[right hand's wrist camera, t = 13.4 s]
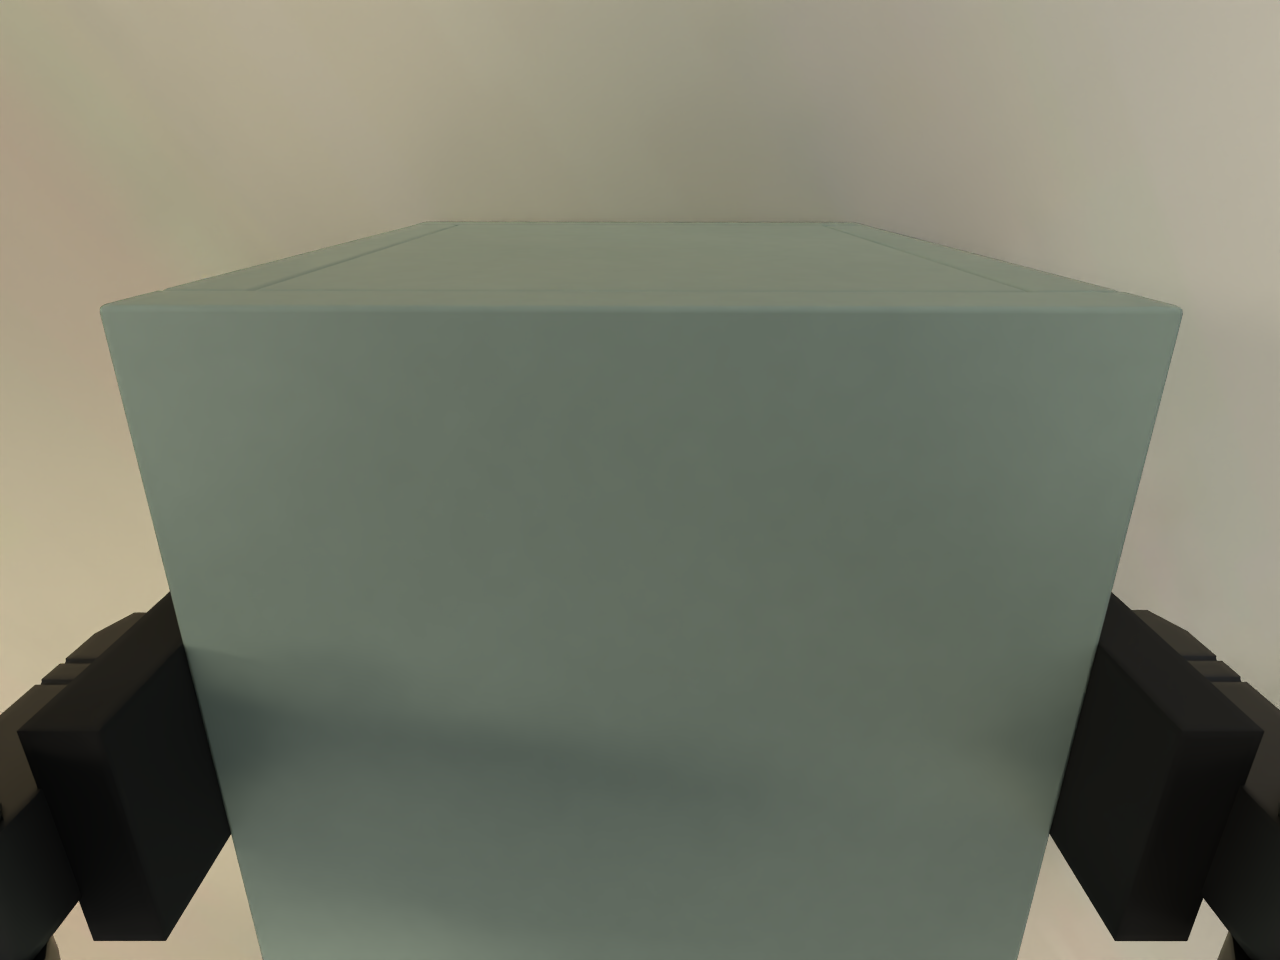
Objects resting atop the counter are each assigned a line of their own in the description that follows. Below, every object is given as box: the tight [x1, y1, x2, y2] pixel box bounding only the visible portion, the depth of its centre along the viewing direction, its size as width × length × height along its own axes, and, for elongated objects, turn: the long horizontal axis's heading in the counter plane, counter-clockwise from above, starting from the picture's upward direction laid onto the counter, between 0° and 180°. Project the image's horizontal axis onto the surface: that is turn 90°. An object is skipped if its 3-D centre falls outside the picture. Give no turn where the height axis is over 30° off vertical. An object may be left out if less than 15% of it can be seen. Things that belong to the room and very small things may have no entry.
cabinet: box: [100, 222, 1183, 960], centre depth 16 cm, size 20×10×12 cm, turn 0°
